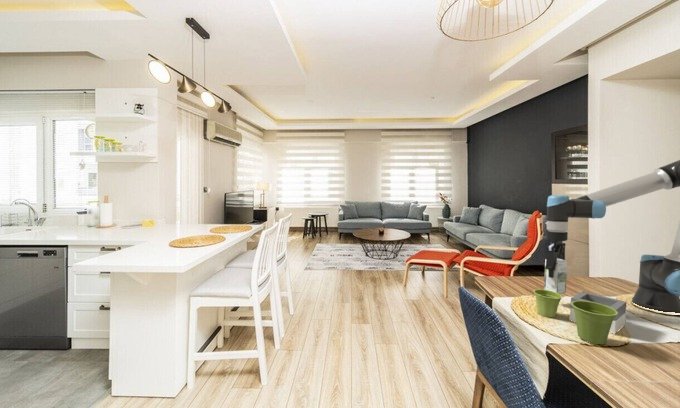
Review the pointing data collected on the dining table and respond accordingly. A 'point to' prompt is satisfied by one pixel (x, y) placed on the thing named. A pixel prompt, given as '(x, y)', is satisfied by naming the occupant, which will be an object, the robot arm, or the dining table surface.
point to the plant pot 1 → (547, 302)
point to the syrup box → (557, 277)
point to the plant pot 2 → (593, 321)
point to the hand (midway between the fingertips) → (555, 282)
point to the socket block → (613, 303)
